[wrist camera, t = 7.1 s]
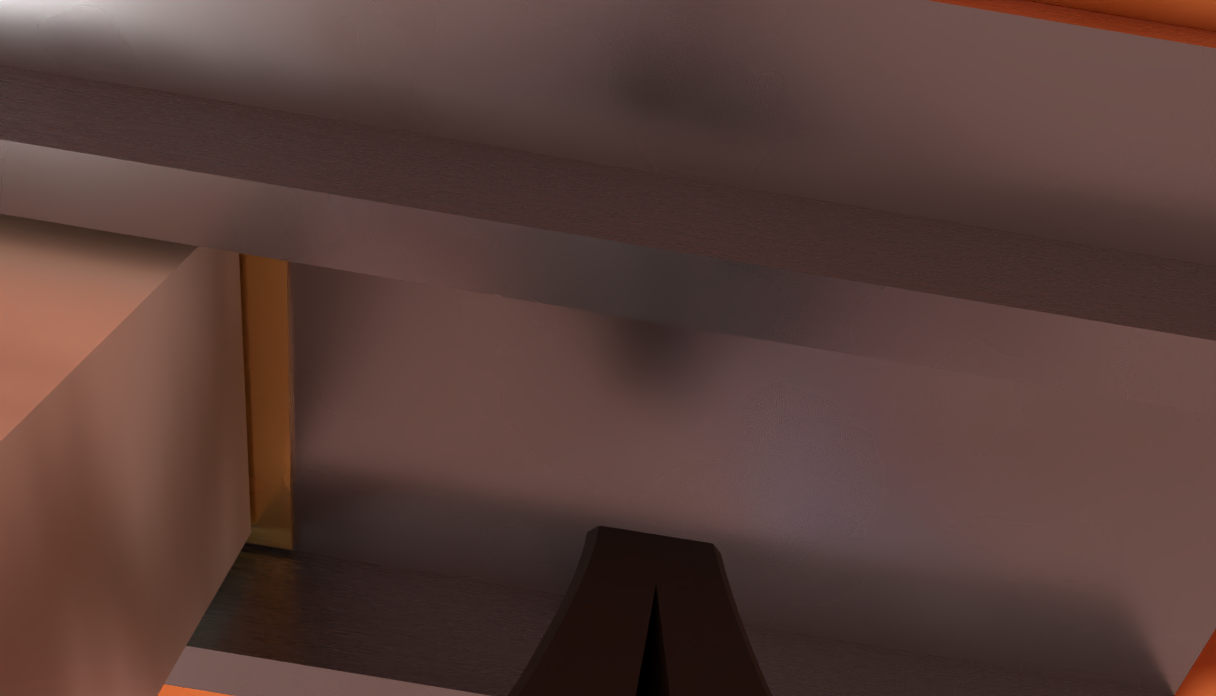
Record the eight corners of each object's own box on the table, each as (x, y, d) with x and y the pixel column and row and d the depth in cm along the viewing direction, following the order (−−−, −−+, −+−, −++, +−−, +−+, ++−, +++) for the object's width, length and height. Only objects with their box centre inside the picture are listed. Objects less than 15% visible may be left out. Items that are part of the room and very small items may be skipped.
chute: (1073, 772, 17) (1138, 950, 15) (-94, 580, 17) (-233, 726, 15) (1479, 76, 11) (1709, 172, 9) (-317, -225, 11) (-619, -216, 9)
